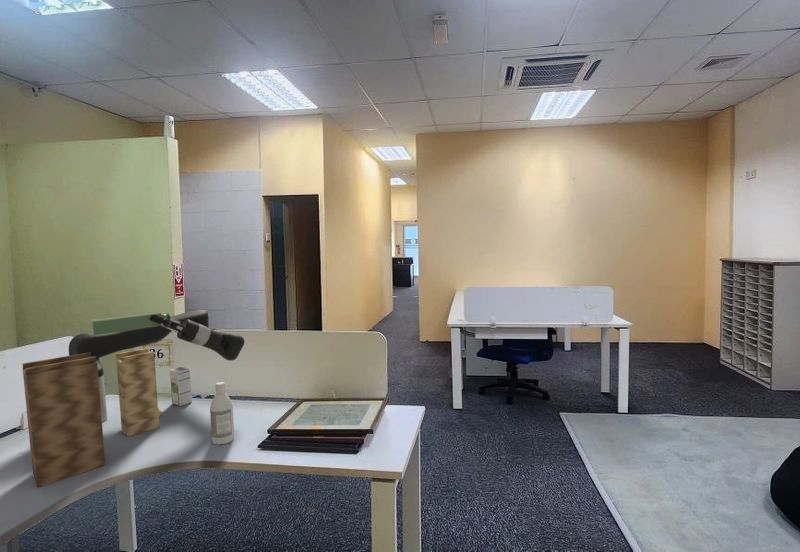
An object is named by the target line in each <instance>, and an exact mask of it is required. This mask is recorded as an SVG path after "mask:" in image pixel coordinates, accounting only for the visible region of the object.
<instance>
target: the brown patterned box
mask: <svg viewBox="0 0 800 552" xmlns="http://www.w3.org/2000/svg"><path fill="white" fill-rule="evenodd" d="M22 376H23V385H24V387H23V388H24V395H25V396H24V397H25V407H26V416H27V417H26V418H27V426H28V427H27V428H28V437H29V438H28V439H29V448H30V458H31V469H32V475H34V476H33V478H34V482H35V485H36V487H38V488H41V487H44V486H46V484H47V485H49V484H53V483H56V482H59V481H62V480H65V479H68V478H71V477H75V476H77V475H81V474H83V473H86V472H89V471H92V470H96V469H98V468H102V467H104V466H105V467H106V457H105V456H106V455H105V444H104V443H105V442H104V431H103V422H102V417H101V404H100V392H99V379H98V367H97V362H96V357H95V356H94V357H91V352H89V353H83V354H77V355H71V356H69V355H66V356H60V357H59V356H58V357H53V358H48V359H41V360H37V361H29V362H24V363H22ZM40 486H41V487H40Z"/></svg>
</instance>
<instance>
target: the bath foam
mask: <svg viewBox="0 0 800 552" xmlns="http://www.w3.org/2000/svg"><path fill="white" fill-rule="evenodd" d="M214 386H215V394H214V397H213V398H212V400H211V402H210V408H209V411H210V412H209V413H210V414H209V415H210V429H211V430H210V432H211V442H212V444H214V445H218V446H219V445H221V444H222V445H226V444H229V443H231V442H232V441H233V440H234V439H235V433H234V432H235V427H234V408H233V403H232V402H233V401H232V399H231V398H230V397H229V395H228V394H227V393H226V383H225V381H218V382H216V383H215V385H214Z"/></svg>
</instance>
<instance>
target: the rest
mask: <svg viewBox="0 0 800 552" xmlns="http://www.w3.org/2000/svg"><path fill="white" fill-rule="evenodd" d="M115 358H116V361H115V362H116V371H117V373H116V374H117V388H118V397H119V398H118V400H119V411H120V414H119V415H120V426H121V431H122V432H123V434H125V435H126V436H127V437H130V436H131V437H132V436H135V435H139V434H142V433H145V432H148V431H152V430H155V429H159V428H160V419H159V418H160V417H159V416H158V409H159V403H158V402H159V401H158V388H157V387H158V386H157V374H156V373H157V372H156V361H155V358H156V357H155V351H149V348H148V347H147V348H140V349H135V350H130V351H124V352H123V351H122V352H116V353H115Z"/></svg>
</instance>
